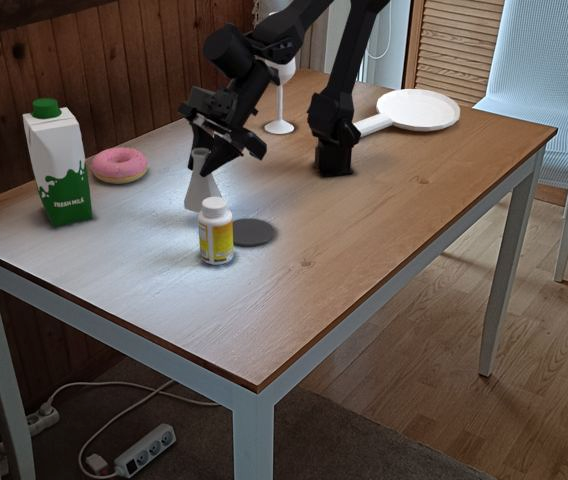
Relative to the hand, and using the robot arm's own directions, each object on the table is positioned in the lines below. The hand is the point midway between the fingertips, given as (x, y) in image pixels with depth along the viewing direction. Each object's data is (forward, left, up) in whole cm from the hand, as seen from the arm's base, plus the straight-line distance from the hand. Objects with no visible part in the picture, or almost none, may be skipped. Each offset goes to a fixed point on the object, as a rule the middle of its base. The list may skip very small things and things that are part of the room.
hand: (195, 172), depth 127 cm
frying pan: (-51, -32, -10) cm, 61 cm away
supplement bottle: (-1, +12, -10) cm, 16 cm away
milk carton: (+22, -9, -10) cm, 26 cm away
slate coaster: (-8, +6, -10) cm, 14 cm away
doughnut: (+11, -23, -10) cm, 27 cm away
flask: (-1, -1, -7) cm, 7 cm away
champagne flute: (-26, -38, -10) cm, 47 cm away
